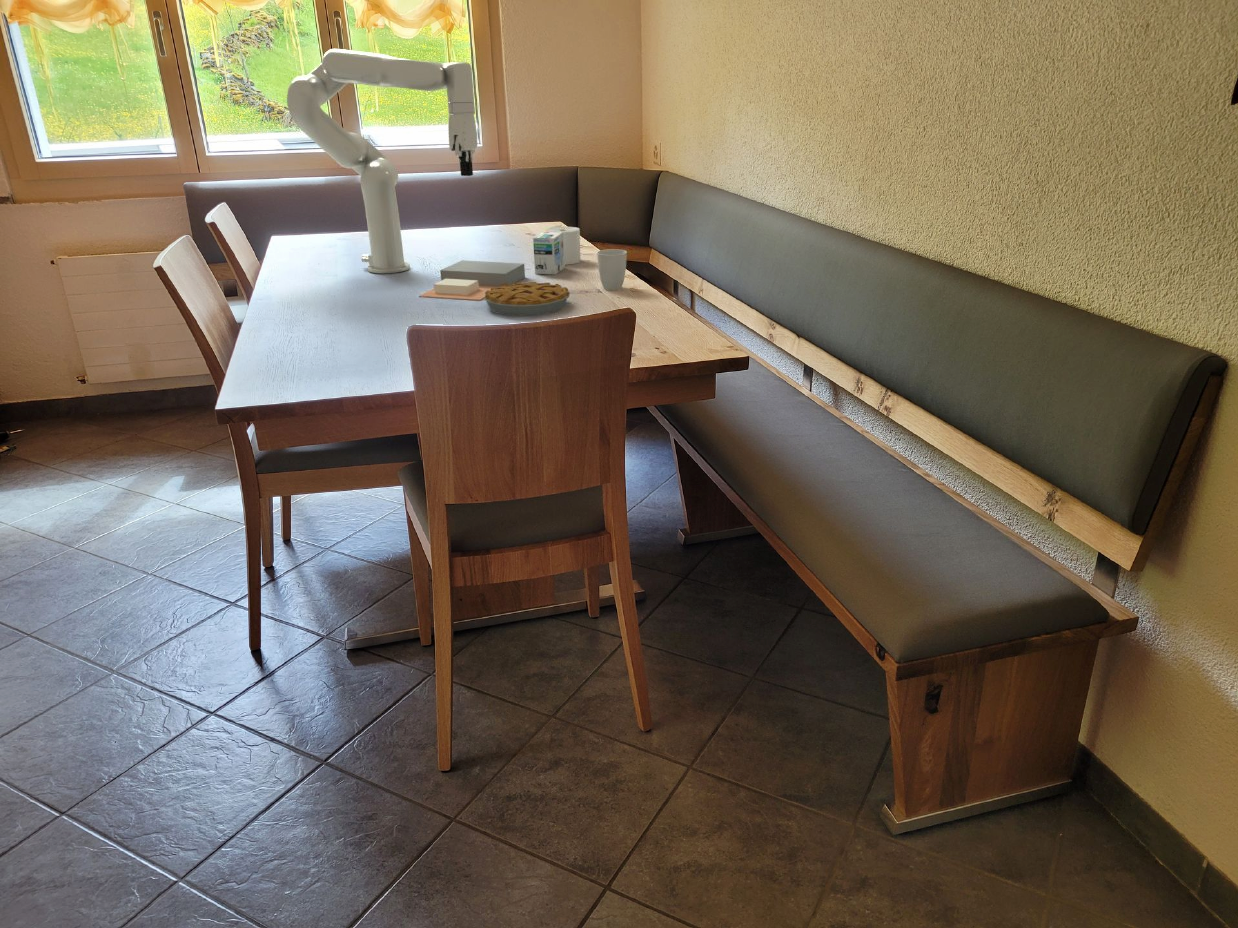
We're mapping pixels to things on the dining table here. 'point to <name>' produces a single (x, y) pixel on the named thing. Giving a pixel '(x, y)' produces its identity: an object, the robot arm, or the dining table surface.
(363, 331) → the dining table surface
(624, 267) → the cup
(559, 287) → the pie
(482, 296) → the mat
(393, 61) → the robot arm
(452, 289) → the cream rectangular block
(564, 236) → the toilet tissue
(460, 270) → the grey flat slab
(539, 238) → the light bulb box
